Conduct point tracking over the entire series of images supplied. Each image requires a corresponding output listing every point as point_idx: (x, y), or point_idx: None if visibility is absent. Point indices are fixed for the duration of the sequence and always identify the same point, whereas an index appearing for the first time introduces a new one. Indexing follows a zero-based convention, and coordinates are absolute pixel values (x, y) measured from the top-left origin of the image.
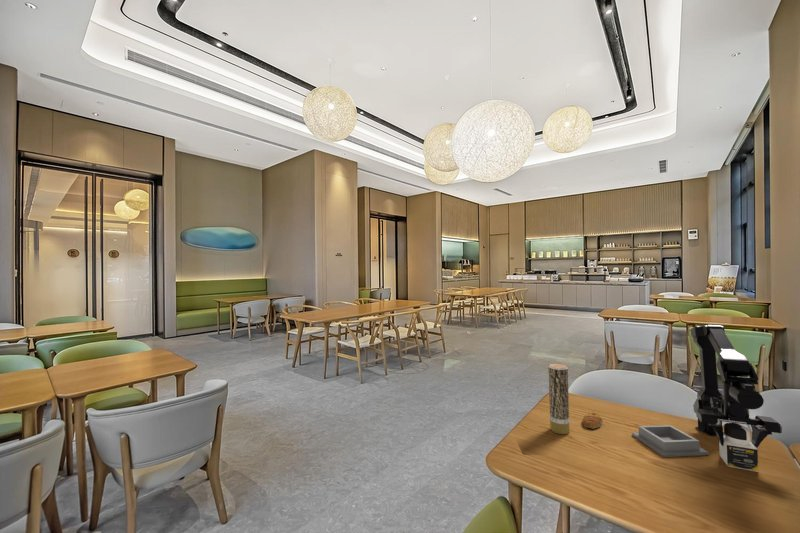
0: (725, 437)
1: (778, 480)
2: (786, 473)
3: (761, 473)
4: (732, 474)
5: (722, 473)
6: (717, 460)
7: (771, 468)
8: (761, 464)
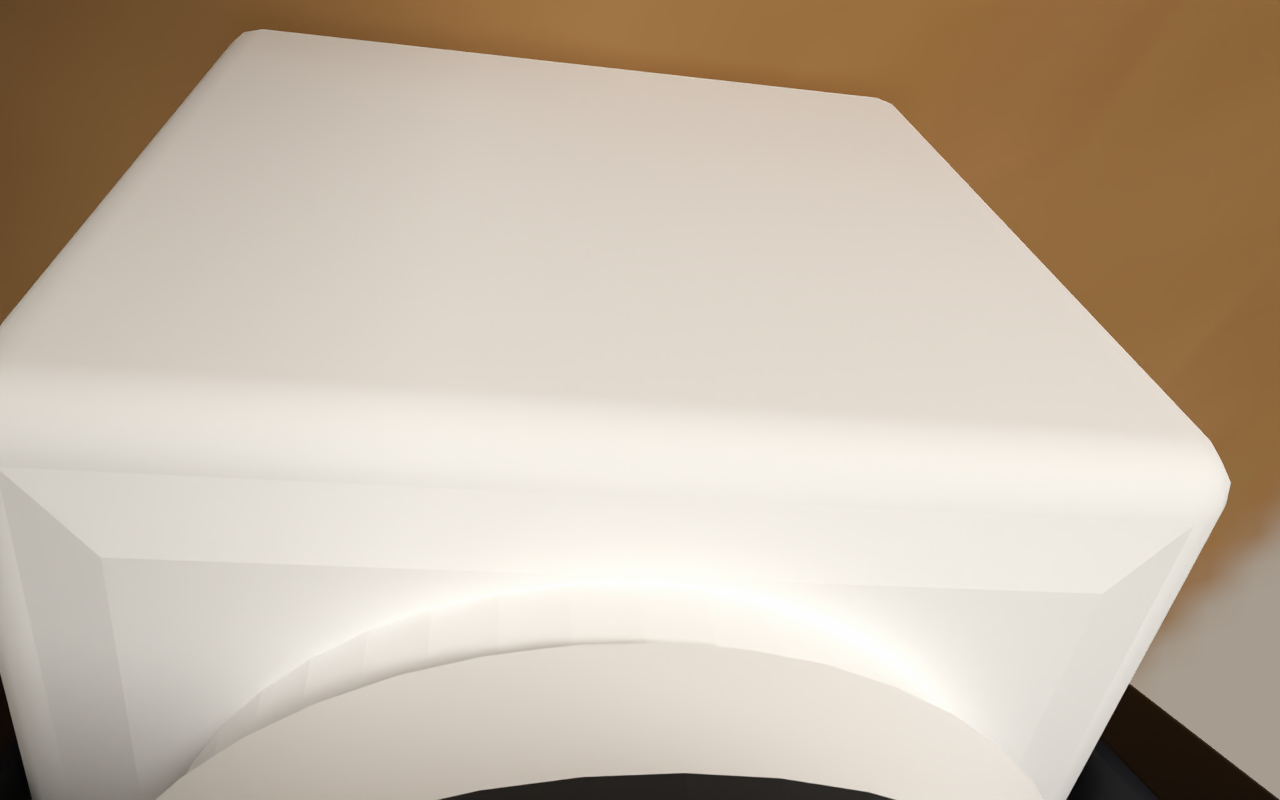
0: (175, 773)
1: None
2: (1276, 440)
3: None
4: None
5: None
6: None
7: (1153, 325)
8: (1080, 196)
